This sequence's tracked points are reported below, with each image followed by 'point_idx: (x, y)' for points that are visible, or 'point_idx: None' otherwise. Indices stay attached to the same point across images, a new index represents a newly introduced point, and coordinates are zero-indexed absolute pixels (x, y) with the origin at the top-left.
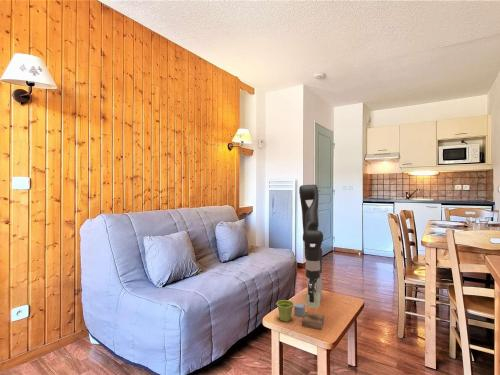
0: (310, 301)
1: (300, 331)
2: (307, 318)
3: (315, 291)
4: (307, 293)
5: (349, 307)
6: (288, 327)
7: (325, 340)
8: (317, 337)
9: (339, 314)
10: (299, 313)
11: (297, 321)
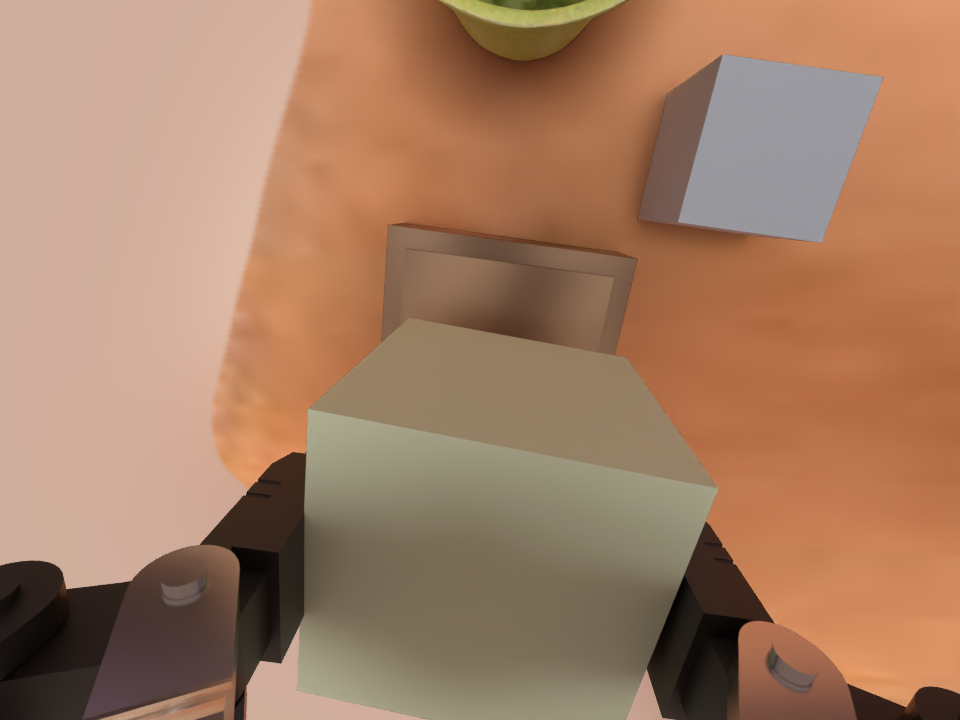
0: (292, 462)
1: (285, 220)
2: (447, 296)
3: (663, 689)
4: (494, 449)
5: (906, 658)
6: (319, 62)
7: (225, 447)
8: (243, 385)
9: (741, 572)
10: (660, 168)
11: (500, 160)
